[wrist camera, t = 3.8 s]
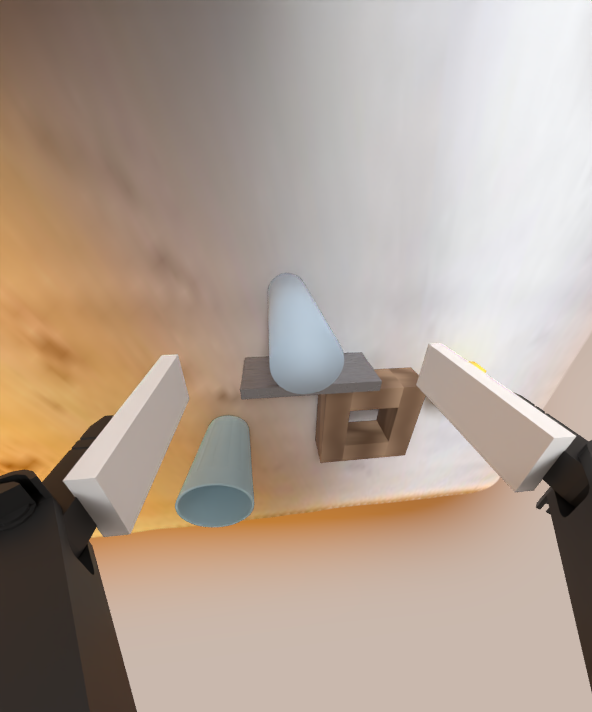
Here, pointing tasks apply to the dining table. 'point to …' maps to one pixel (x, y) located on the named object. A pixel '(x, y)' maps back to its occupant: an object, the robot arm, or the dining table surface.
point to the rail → (351, 379)
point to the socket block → (370, 437)
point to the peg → (300, 339)
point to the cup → (219, 477)
